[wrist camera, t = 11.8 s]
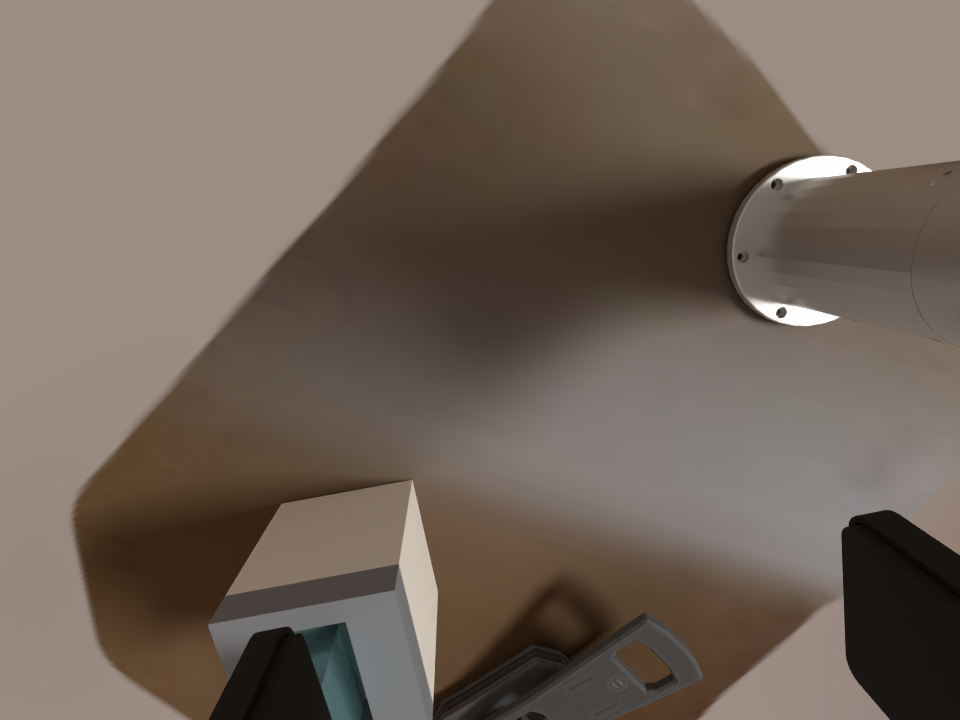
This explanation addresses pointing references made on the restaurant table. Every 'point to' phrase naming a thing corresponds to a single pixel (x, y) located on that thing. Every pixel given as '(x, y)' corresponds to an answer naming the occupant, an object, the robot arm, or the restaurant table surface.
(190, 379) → the restaurant table surface
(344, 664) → the teal block
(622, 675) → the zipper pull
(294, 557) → the white slotted box
